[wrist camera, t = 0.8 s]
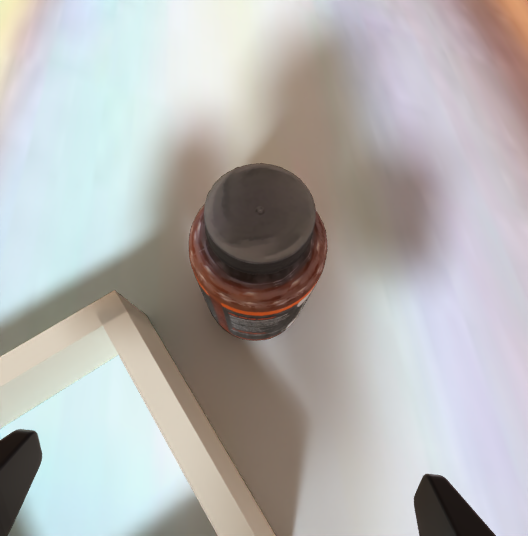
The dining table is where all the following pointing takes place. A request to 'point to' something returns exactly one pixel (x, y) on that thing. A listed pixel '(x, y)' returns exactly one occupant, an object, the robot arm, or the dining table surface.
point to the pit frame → (151, 390)
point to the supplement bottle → (257, 250)
